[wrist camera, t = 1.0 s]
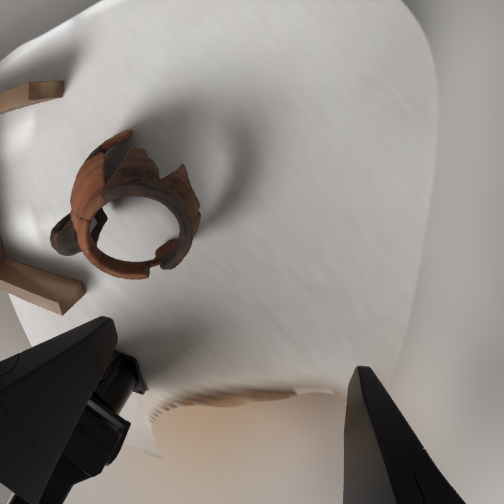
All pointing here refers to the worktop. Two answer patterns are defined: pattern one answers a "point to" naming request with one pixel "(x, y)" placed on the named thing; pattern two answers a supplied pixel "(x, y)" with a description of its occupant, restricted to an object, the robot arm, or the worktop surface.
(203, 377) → the worktop surface
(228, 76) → the worktop surface
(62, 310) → the walnut bay
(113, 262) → the pottery mug
